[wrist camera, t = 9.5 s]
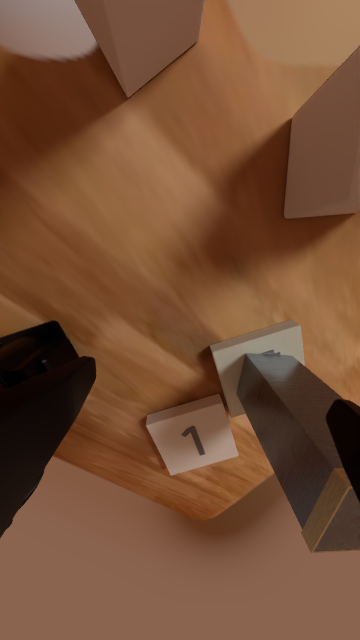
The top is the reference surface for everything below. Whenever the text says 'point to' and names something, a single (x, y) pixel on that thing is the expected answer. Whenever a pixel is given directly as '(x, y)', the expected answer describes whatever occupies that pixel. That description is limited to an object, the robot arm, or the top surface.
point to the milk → (142, 34)
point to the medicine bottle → (327, 148)
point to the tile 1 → (192, 434)
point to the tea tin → (301, 448)
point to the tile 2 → (262, 341)
